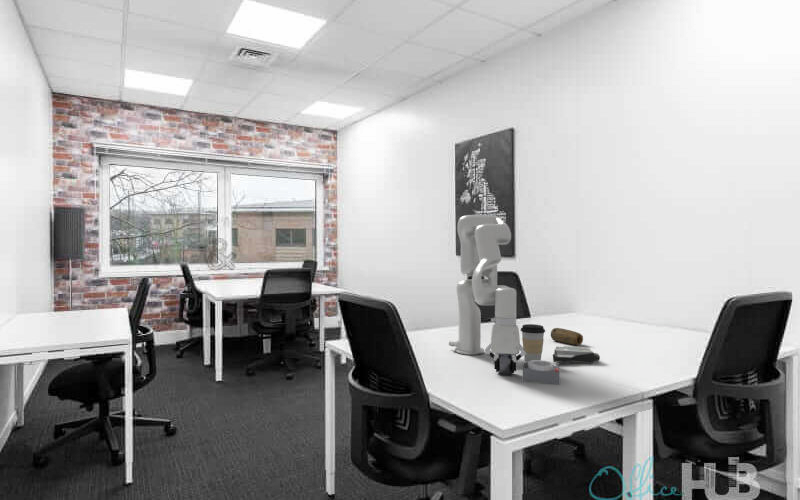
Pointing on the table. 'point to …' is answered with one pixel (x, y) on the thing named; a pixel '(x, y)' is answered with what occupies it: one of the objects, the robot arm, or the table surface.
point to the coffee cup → (532, 341)
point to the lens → (505, 364)
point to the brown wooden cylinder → (566, 336)
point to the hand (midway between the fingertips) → (505, 371)
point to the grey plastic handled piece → (575, 355)
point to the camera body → (541, 372)
